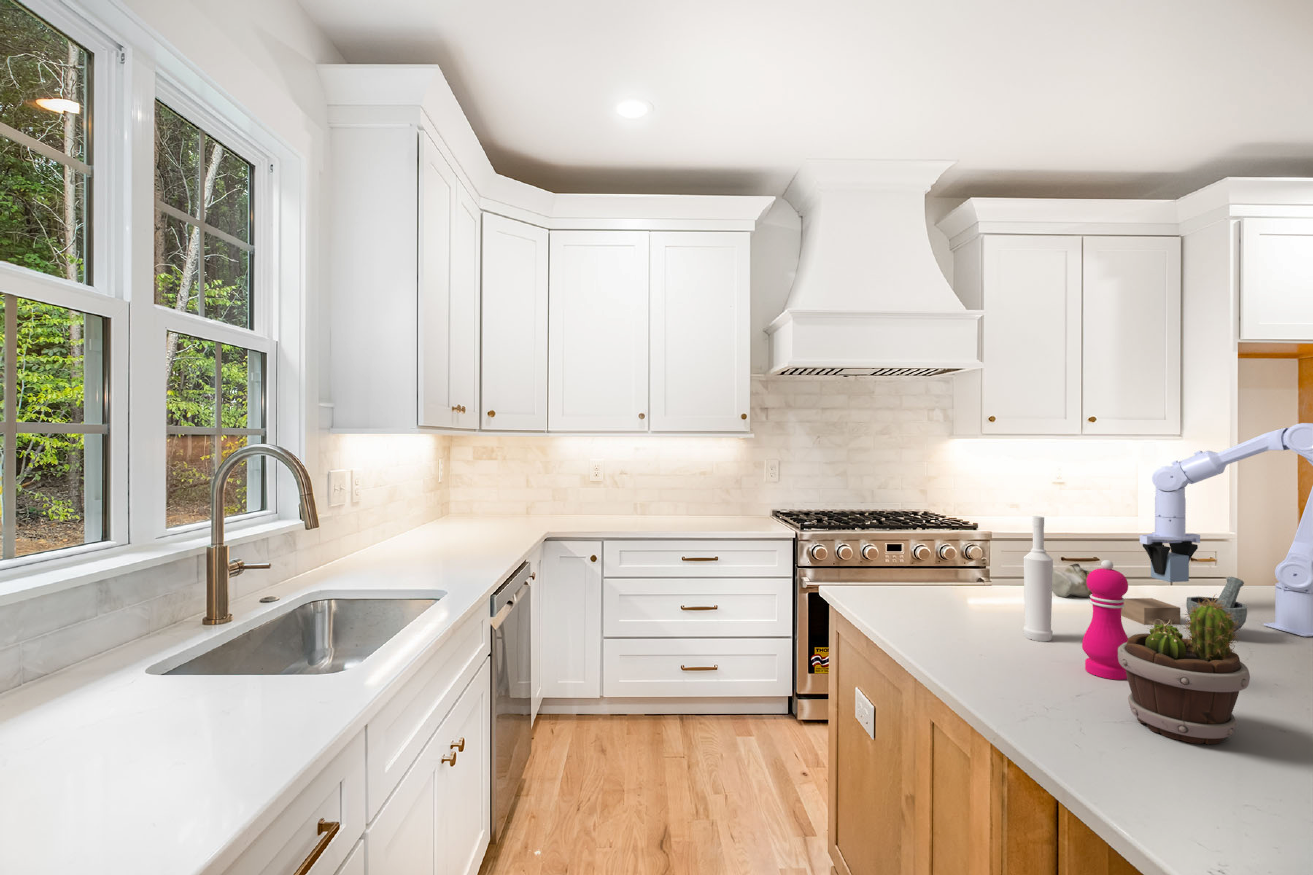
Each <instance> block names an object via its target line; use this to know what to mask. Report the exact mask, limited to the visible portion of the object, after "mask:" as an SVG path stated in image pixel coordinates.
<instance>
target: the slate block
mask: <svg viewBox="0 0 1313 875" xmlns="http://www.w3.org/2000/svg"><path fill="white" fill-rule="evenodd" d="M1189 564H1190V561H1189V556H1186V555H1181V554H1176V553H1172V551H1169V553H1168V556H1167V560H1166V571H1165V574H1164V575H1162V574H1157V573H1155V572H1154V569H1153V566H1152V562H1151V561H1150V578H1153V579H1156V580H1161V581H1163V582H1168V583H1180V582H1181V583H1182V582H1187V583H1188V582H1189V581H1190V566H1189Z"/></svg>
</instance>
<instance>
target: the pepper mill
mask: <svg viewBox="0 0 1313 875" xmlns="http://www.w3.org/2000/svg"><path fill="white" fill-rule="evenodd" d="M1100 563H1101V564H1100V566H1101V567H1100V568H1095V569H1093V570H1092V571H1091V570H1090V571H1091V572H1090V573H1089V575H1088V576H1087V581H1086V583H1087V587H1088V588H1089V590H1090V591H1091V592H1092V594H1091V595H1090V596H1089V598H1090V600H1089V603H1090V604H1092V617H1091V620H1090V624H1089V626H1088V627H1087V629H1086V631H1084V632H1085V633H1084V635H1083V637H1082V643H1081V647H1082V650H1083V652H1084V653H1085V654H1086V656H1087V658H1086V659H1085V661H1084V662H1085V663H1084V666H1085V668H1084V669H1085V671H1086V672H1087V673H1088V672H1089V673H1088V674H1090V675H1092V676H1095V675H1096V676H1095V677H1098V678H1101V677H1103V679H1106V678H1107V680H1113V679H1114V680H1115V681H1121V680H1122V681H1123V680H1128V679H1127V674H1126V669H1124V668H1123V667H1122V666H1121V665H1120V663H1119V661H1118V647H1119V646H1120V645H1122V644H1123V643H1126V642H1127V641H1128V639H1129V637H1128V635H1127V634H1126V631H1125V628H1124V626H1123V622H1122V616H1121V610H1122V608H1123V607H1124V606H1125V605H1124V601H1125V600H1124V599H1123V596H1124V595H1125V594H1127V593H1128V591H1129V582H1128V580H1127V578H1126V576H1125V575H1124V574H1123V573H1121V572H1120V571H1118V570H1116V569H1113V568H1114V563H1113V562H1112V561H1111V560H1109V559H1104V560H1102V561H1101V562H1100Z"/></svg>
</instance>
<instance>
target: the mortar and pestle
mask: <svg viewBox="0 0 1313 875" xmlns="http://www.w3.org/2000/svg"><path fill="white" fill-rule="evenodd" d="M1244 584H1245V582H1244V581H1243V580H1241V579H1240V578H1238V577H1234V576H1227V578H1226V583H1225V586H1224V587H1223V589H1222V591H1221V593H1220V594H1219V597H1214V598H1213V597H1209V596H1199V595H1198V596H1187V597H1186V612H1188V613H1187V614H1188V615H1187V616H1189V615H1190V614H1191V613H1192V611H1191V610H1190V609H1192V607H1193V609H1195V608H1194V607H1196V609H1197V606H1198V607H1200V606H1199V605H1198V604H1199V603H1198V602H1199V601H1200V603H1201V605H1202V602H1203V601H1204V600H1205V599H1206V598H1207V599H1209V600H1210V602H1212V603H1213V602H1214V600H1215V599H1217V600H1216V601H1215V603H1216V602H1217V603H1216V604H1218V603H1221V604H1222V603H1223V604H1222V605H1223V606H1222V605H1221V604H1220V605H1221V606H1222V610H1224V609H1225V610H1224V611H1225V612H1226V613H1227V614H1228V613H1229V614H1230V613H1231V614H1232V615H1230V616H1233V615H1235V616H1233V617H1232V618H1231V617H1230V618H1231V619H1232V621H1233V622H1234V623H1235V622H1237V623H1238V625H1237V626H1236V625H1235V627H1234V625H1233V627H1234V628H1233V629H1235V630H1234V631H1233V632H1232V633H1233V636H1236V631H1237V630H1236V629H1238V630H1240V629H1241V628H1243V626H1244V624H1245V623H1246V621H1247V616H1248V605H1247V604H1244V603H1242V602H1238V601H1237V599H1238V596H1239V593H1240V590H1241V588H1242V587H1243V586H1244ZM1200 597H1201V598H1200ZM1204 597H1205V598H1204ZM1203 598H1204V599H1203ZM1212 598H1213V600H1212ZM1207 599H1206V601H1205V602H1208V601H1207ZM1218 601H1221V602H1218ZM1205 602H1204V603H1205ZM1204 603H1203V604H1204ZM1206 604H1207V603H1205V605H1206ZM1208 604H1210V603H1209V602H1208ZM1191 606H1192V607H1191ZM1218 606H1219V605H1218ZM1223 607H1227V608H1223ZM1193 609H1192V610H1193ZM1231 610H1232V611H1231ZM1190 612H1191V613H1190ZM1189 613H1190V614H1189ZM1233 613H1234V614H1233ZM1235 618H1236V619H1235ZM1240 624H1241V625H1240ZM1237 627H1238V628H1237ZM1234 632H1235V633H1234ZM1234 634H1235V635H1234ZM1234 638H1235V637H1234ZM1232 640H1233V639H1232ZM1234 641H1236V638H1235V639H1234Z"/></svg>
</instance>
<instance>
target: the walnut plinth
mask: <svg viewBox="0 0 1313 875" xmlns="http://www.w3.org/2000/svg"><path fill="white" fill-rule="evenodd" d="M1122 598H1123V597H1122ZM1123 599H1124V600H1125V601H1124V605H1125V606H1124V607H1123V608H1122V610H1121V617H1122V618H1126V619H1129V620H1131V621H1133V622H1136V623H1139V624H1142V625H1143V626H1154V624H1155V625H1161V624H1163V623H1164V624H1165V623H1166V624H1167V623H1168V622H1169V621H1170V622H1169V623H1168V624H1167V625H1168V626H1170V624H1171V622H1172V624H1171V625H1173V626H1178V625H1180V626H1181V607H1180V606H1176V605H1173V604H1171V603H1167V602H1165V601H1163V600H1158V599H1156V598H1153V597H1151V598H1150V597H1148V598H1146V597H1144V598H1143V597H1140V598H1139V597H1138V598H1137V597H1136V598H1134V597H1132V598H1131V597H1130V598H1129V597H1127V598H1126V597H1125V598H1123ZM1157 619H1158V620H1157ZM1160 620H1161V621H1160ZM1151 622H1152V623H1151ZM1153 623H1154V624H1153ZM1164 624H1163V625H1164ZM1166 624H1165V625H1166ZM1174 624H1175V625H1174Z"/></svg>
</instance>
